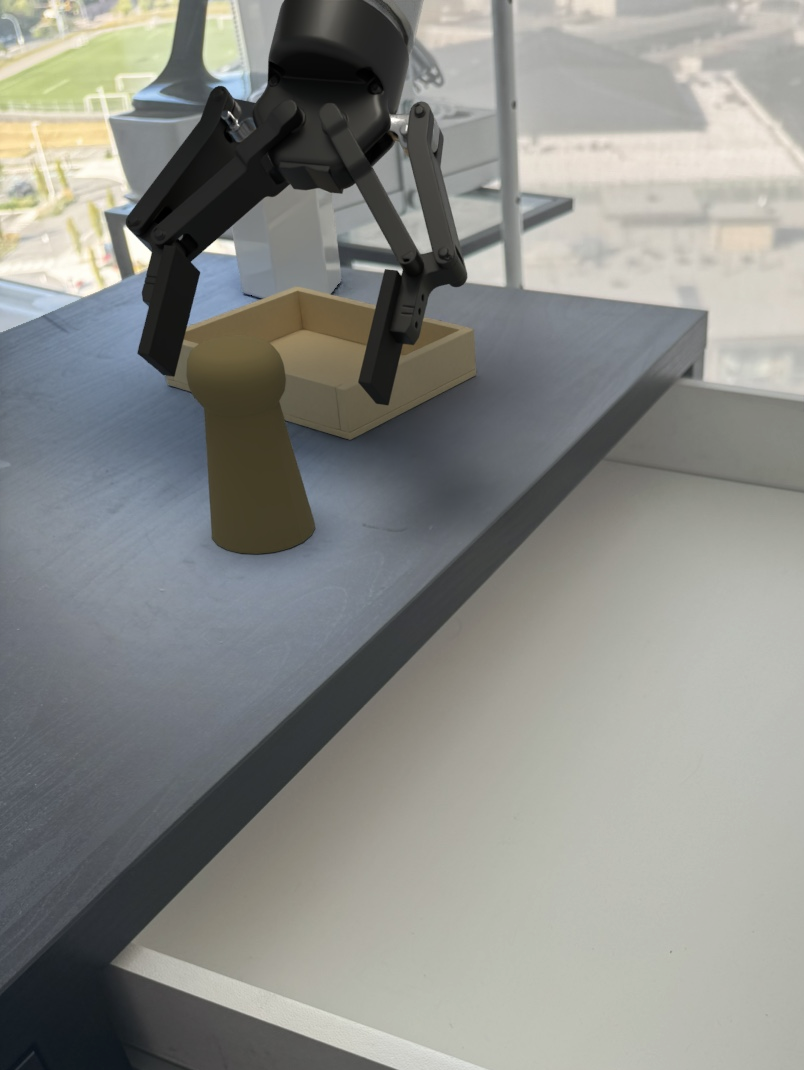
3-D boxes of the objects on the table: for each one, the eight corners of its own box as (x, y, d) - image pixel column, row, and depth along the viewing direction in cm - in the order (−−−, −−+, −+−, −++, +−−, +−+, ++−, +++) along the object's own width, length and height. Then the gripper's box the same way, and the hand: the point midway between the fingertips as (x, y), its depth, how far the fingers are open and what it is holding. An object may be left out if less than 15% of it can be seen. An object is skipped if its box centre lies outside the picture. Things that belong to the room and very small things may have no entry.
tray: (167, 385, 86) (157, 337, 84) (302, 330, 96) (296, 285, 94) (350, 440, 79) (344, 389, 77) (476, 375, 89) (474, 328, 87)
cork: (192, 526, 69) (152, 338, 62) (282, 497, 73) (253, 315, 65) (242, 564, 66) (205, 371, 59) (334, 532, 69) (309, 345, 62)
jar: (262, 271, 108) (240, 124, 100) (349, 275, 107) (334, 128, 100) (231, 301, 101) (205, 147, 93) (324, 306, 100) (305, 151, 93)
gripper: (120, -32, 66) (28, 321, 65) (537, -10, 61) (448, 375, 59) (189, 63, 73) (108, 382, 72) (567, 90, 68) (488, 435, 67)
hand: (262, 380), depth 66 cm, fingers open, 13 cm apart
